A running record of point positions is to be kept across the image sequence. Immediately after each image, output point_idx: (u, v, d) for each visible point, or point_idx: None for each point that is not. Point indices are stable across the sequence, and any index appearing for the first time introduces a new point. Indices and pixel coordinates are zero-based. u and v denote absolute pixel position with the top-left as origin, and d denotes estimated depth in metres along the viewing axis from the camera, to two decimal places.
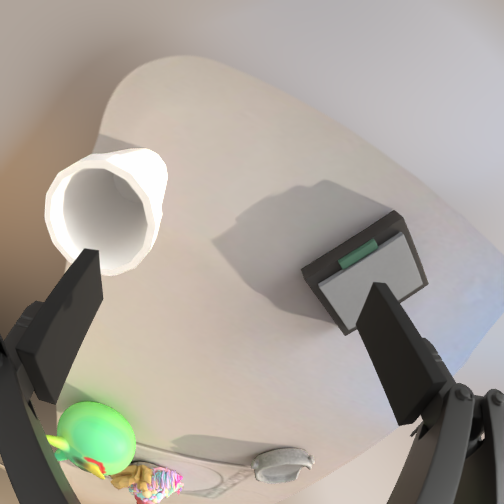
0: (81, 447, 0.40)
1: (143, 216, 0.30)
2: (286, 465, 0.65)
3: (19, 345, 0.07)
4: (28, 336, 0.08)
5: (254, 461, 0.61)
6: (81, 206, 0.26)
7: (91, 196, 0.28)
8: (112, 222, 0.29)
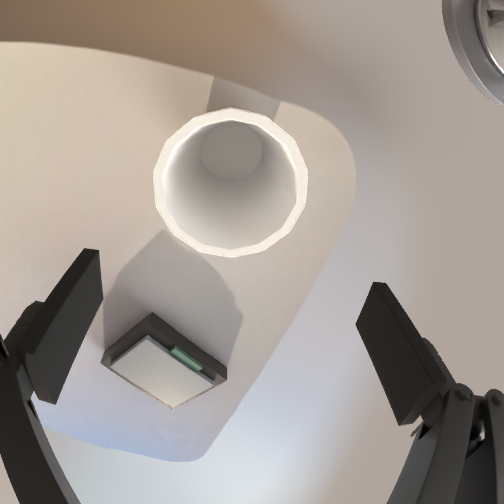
0: None
1: (197, 180, 0.27)
2: None
3: (19, 345, 0.07)
4: (28, 336, 0.08)
5: None
6: (219, 122, 0.21)
7: (224, 121, 0.23)
8: (190, 148, 0.24)
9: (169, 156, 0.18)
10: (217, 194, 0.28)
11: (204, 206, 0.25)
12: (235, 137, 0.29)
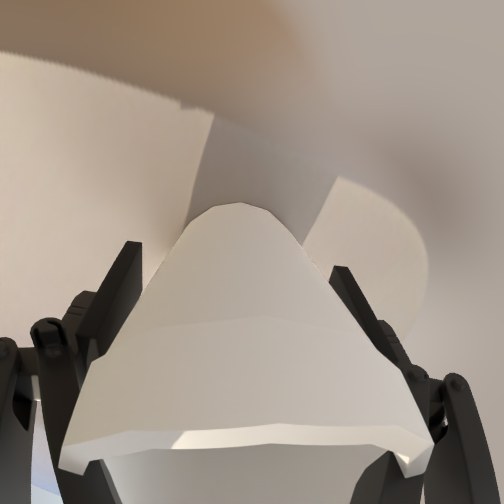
0: None
1: None
2: None
3: (79, 331, 0.09)
4: (87, 322, 0.09)
5: None
6: None
7: None
8: None
9: (84, 466, 0.05)
10: None
11: None
12: None
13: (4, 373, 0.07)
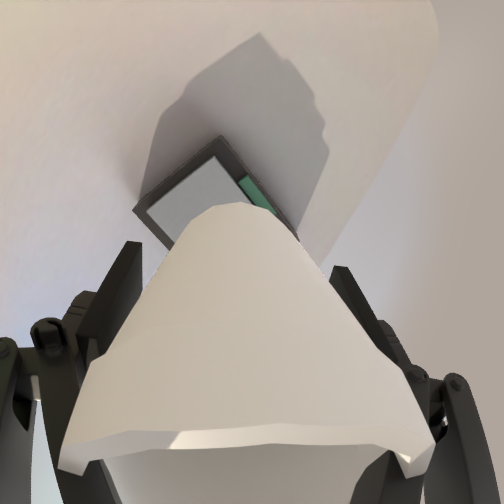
0: None
1: None
2: None
3: (79, 331, 0.09)
4: (87, 322, 0.09)
5: None
6: None
7: None
8: None
9: (84, 466, 0.05)
10: None
11: None
12: None
13: (4, 373, 0.07)
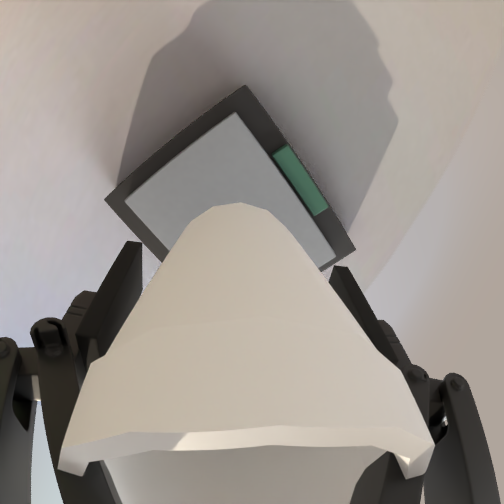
0: None
1: None
2: None
3: (79, 331, 0.09)
4: (87, 322, 0.09)
5: None
6: None
7: None
8: None
9: (84, 468, 0.05)
10: None
11: None
12: None
13: (4, 373, 0.07)
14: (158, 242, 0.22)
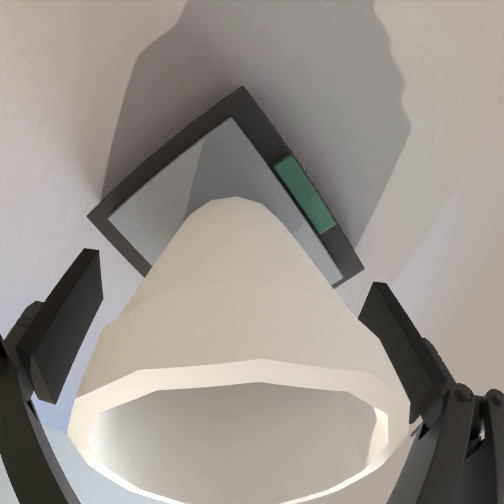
0: None
1: None
2: None
3: (19, 345, 0.07)
4: (28, 336, 0.08)
5: None
6: None
7: None
8: None
9: (93, 421, 0.06)
10: None
11: (184, 393, 0.13)
12: None
13: None
14: (147, 263, 0.20)
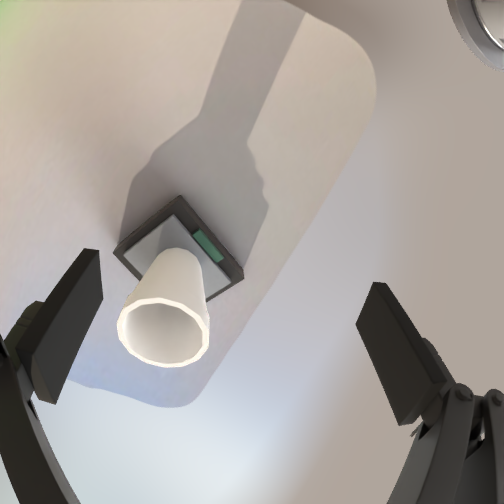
0: None
1: None
2: None
3: (19, 345, 0.07)
4: (28, 336, 0.08)
5: None
6: None
7: None
8: None
9: (125, 316, 0.29)
10: (164, 308, 0.39)
11: (152, 324, 0.36)
12: None
13: None
14: (140, 274, 0.42)
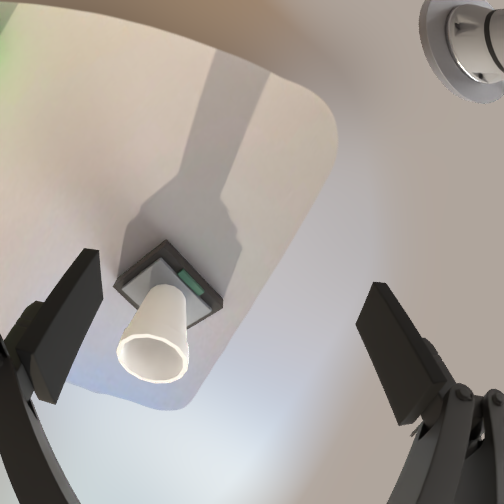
0: None
1: None
2: None
3: (19, 345, 0.07)
4: (28, 336, 0.08)
5: None
6: None
7: None
8: None
9: (123, 346, 0.37)
10: None
11: (146, 348, 0.43)
12: None
13: None
14: (136, 303, 0.50)
